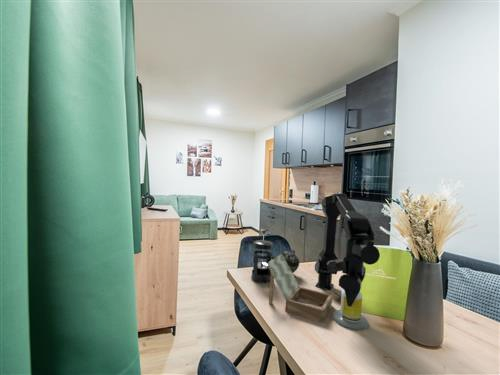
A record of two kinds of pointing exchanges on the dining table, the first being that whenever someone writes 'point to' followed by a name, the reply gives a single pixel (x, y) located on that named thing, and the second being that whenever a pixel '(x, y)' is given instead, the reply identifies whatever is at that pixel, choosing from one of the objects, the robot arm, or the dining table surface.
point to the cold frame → (297, 292)
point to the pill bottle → (351, 308)
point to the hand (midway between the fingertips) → (351, 300)
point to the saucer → (350, 325)
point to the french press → (261, 269)
